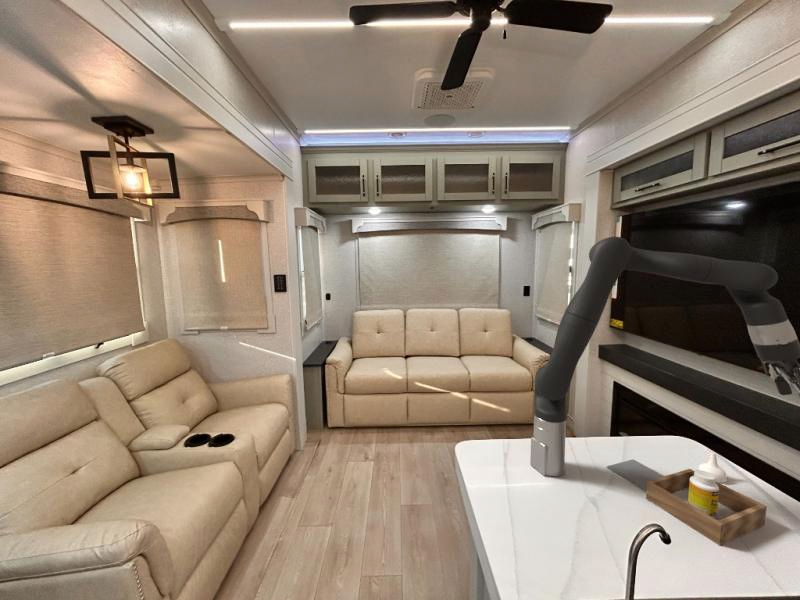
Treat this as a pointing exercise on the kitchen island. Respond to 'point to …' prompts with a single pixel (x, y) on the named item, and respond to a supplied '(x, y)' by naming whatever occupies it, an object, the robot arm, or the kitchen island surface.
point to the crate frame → (718, 531)
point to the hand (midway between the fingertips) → (798, 400)
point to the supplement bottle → (704, 492)
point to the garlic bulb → (714, 469)
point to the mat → (635, 472)
